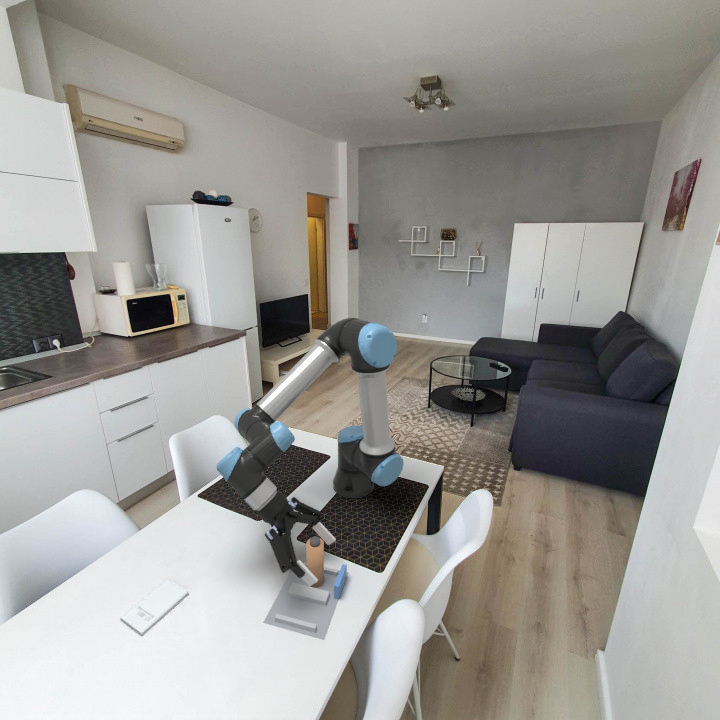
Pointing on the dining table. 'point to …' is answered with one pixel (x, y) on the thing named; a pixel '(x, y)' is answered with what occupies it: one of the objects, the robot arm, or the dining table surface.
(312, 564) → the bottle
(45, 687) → the dining table surface
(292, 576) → the gray ribbed plate
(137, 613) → the external hard drive
